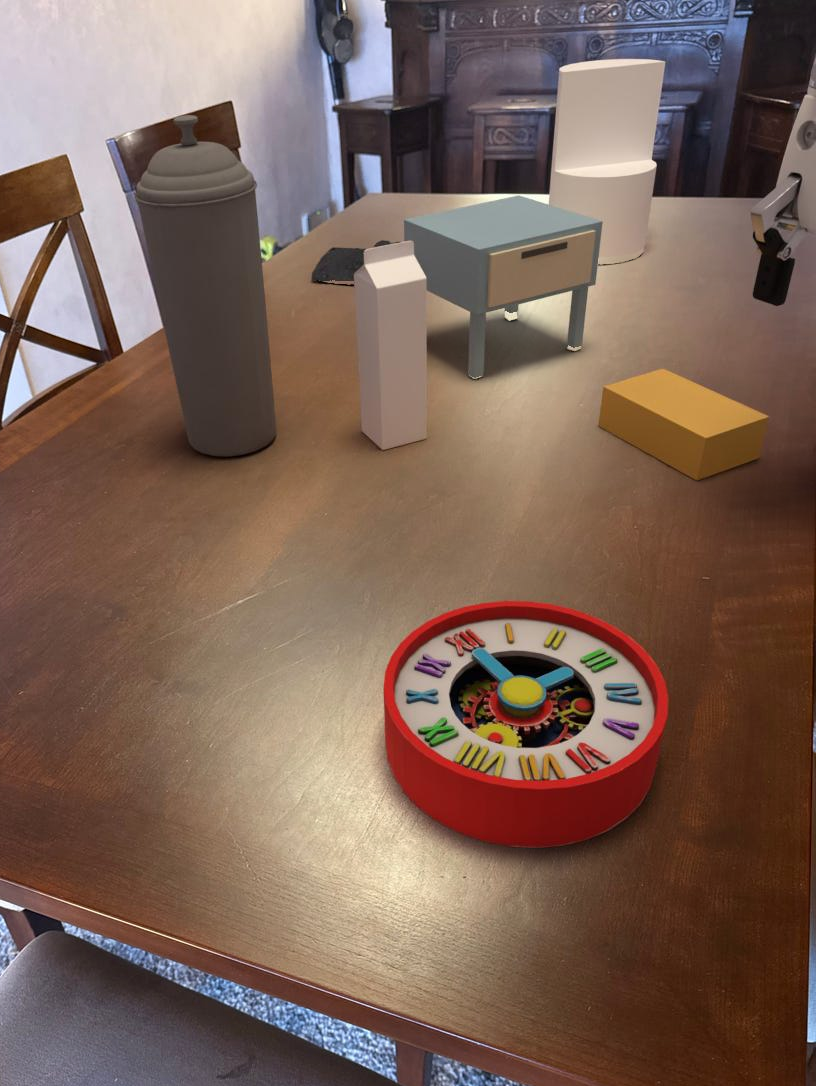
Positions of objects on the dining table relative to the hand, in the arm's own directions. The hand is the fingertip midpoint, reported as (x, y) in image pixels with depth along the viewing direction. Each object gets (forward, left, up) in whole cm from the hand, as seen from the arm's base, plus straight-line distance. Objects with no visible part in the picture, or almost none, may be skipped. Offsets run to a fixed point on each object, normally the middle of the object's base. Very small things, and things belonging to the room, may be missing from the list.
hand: (807, 290), depth 82 cm
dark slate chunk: (+83, -30, -20) cm, 91 cm away
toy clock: (-4, +47, -20) cm, 52 cm away
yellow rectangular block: (+11, -4, -20) cm, 23 cm away
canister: (+53, +28, -20) cm, 63 cm away
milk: (+38, +15, -20) cm, 46 cm away
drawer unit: (+46, -14, -20) cm, 52 cm away
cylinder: (+59, -61, -20) cm, 87 cm away
